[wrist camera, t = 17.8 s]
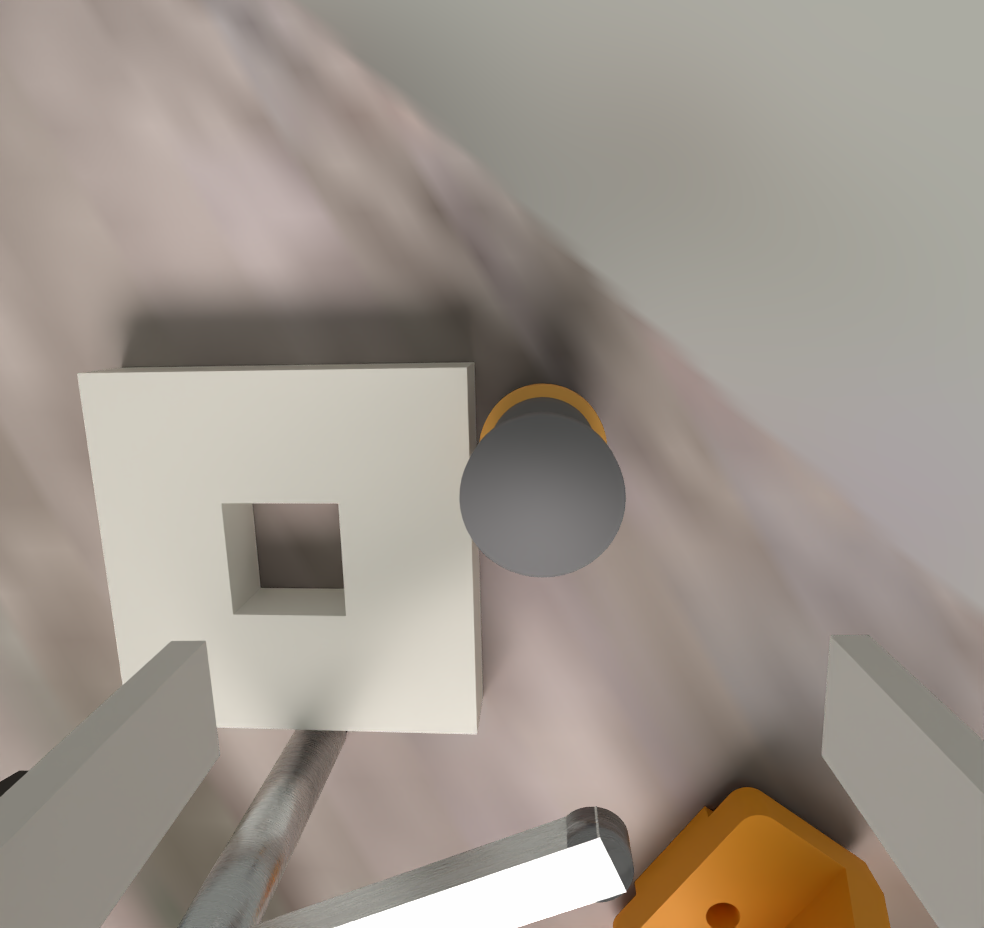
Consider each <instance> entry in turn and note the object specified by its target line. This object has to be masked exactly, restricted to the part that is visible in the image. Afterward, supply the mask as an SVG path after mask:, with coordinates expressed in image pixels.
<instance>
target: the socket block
mask: <svg viewBox="0 0 984 928" xmlns="http://www.w3.org/2000/svg"><path fill="white" fill-rule="evenodd" d="M77 376H78V383H79V389H80V396H81V403H82V410H83V417H84V424H85V430H86V437H87V444H88V451H89V458H90V465H91V472H92V478H93V485H94V492H95V499H96V506H97V513H98V519H99V526H100V533H101V540H102V547H103V554H104V561H105V567H106V574H107V581H108V588H109V595H110V602H111V608H112V615H113V622H114V629H115V636H116V643H117V650H118V656H119V663H120V670H121V677H122V684H125V683H126V682H127V681H128V680H129V679H130V678H131V677H132V676H133V675H134V674H136V673H137V672H138V671H139V670H140V669H141V668H142V667H143V666H144V665H145V664H146V663H148V662H149V661H150V660H151V659H152V658H153V657H154V656H155V655H156V654H157V653H159V652H160V651H161V650H162V649H163V648H164V647H165V646H166V645H167V644H168V643H169V642H171V641H206V645H207V653H208V661H209V669H210V677H211V685H212V693H213V701H214V710H215V718H216V726H217V728H256V729H294V730H332V731H370V732H409V733H447V734H477V732H478V726H479V719H480V713H481V707H482V701H483V675H482V636H481V597H480V558H479V548H478V547H477V546H476V544H475V543H474V541H473V540H472V539H471V537H470V535H469V533H468V531H467V529H466V527H465V524H464V522H463V519H462V514H461V510H460V501H459V494H460V484H461V478H462V475H463V472H464V469H465V467H466V465H467V462H468V460H469V458H470V456H471V454H472V452H473V451H474V449H475V448H476V446H477V440H476V401H475V362H451V363H387V364H322V365H258V366H194V367H129V368H114V369H106V370H99V371H91V372H83V373H77ZM253 503H338V507H339V521H340V535H341V550H342V564H343V578H344V589H321V588H261V585H260V575H259V565H258V554H257V544H256V534H255V523H254V513H253Z"/></svg>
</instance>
